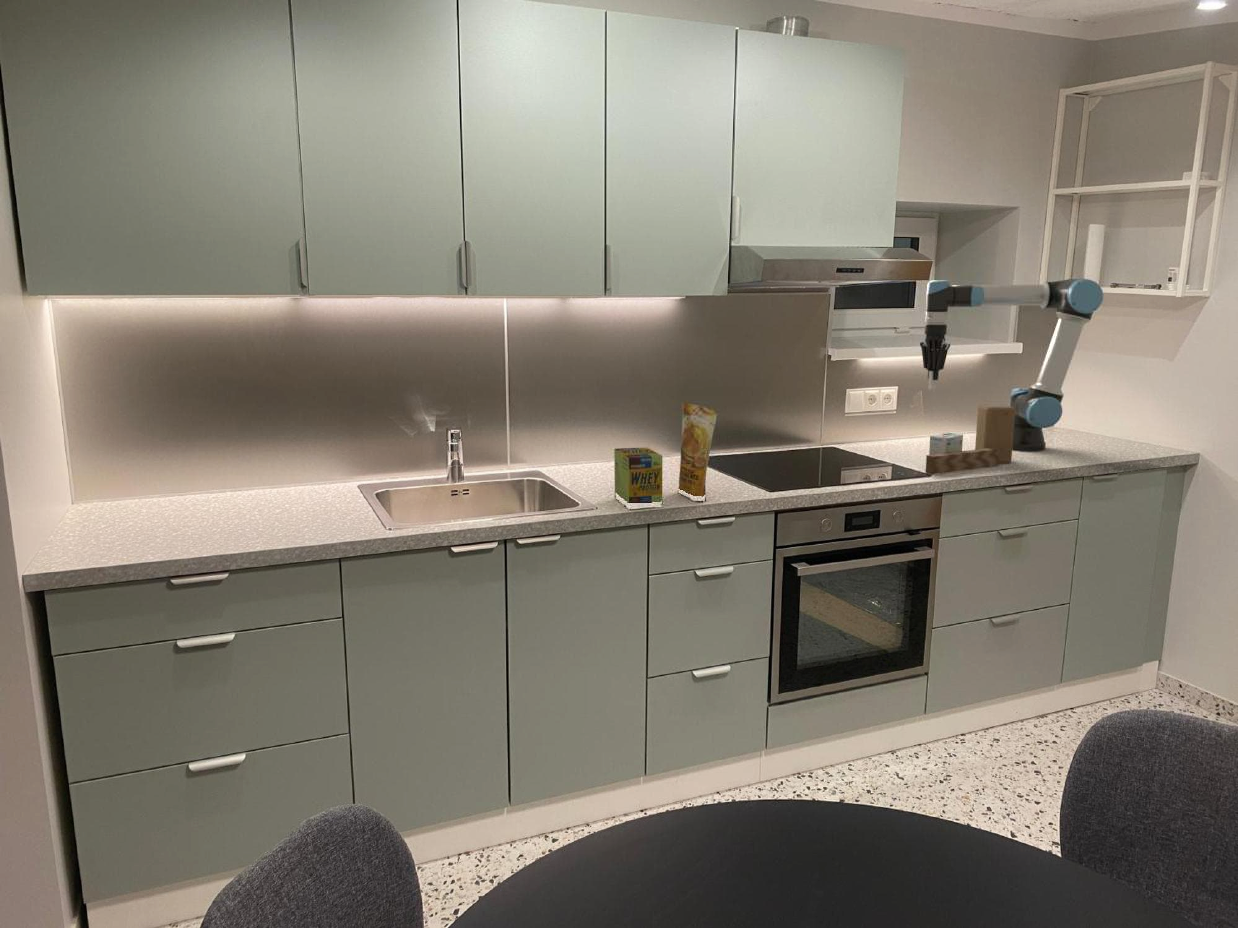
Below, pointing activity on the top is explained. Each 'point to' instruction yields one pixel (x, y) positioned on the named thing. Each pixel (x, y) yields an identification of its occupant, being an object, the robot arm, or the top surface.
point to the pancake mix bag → (695, 447)
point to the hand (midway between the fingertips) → (932, 388)
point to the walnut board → (962, 460)
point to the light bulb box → (945, 443)
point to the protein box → (638, 475)
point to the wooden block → (996, 429)
